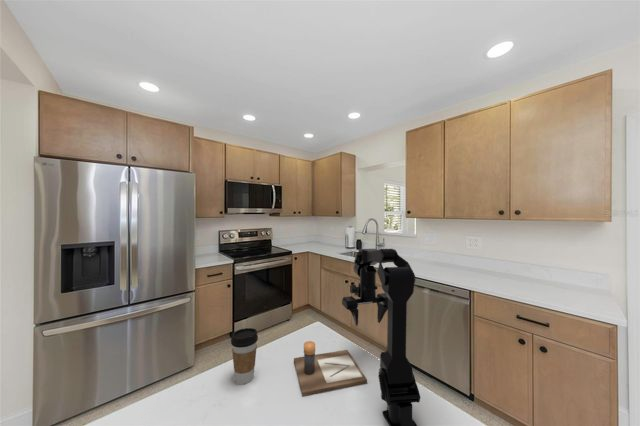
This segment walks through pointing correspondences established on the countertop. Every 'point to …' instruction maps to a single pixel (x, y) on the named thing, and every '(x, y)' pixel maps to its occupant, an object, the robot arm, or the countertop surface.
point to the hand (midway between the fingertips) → (367, 323)
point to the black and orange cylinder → (309, 357)
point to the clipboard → (329, 373)
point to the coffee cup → (244, 354)
